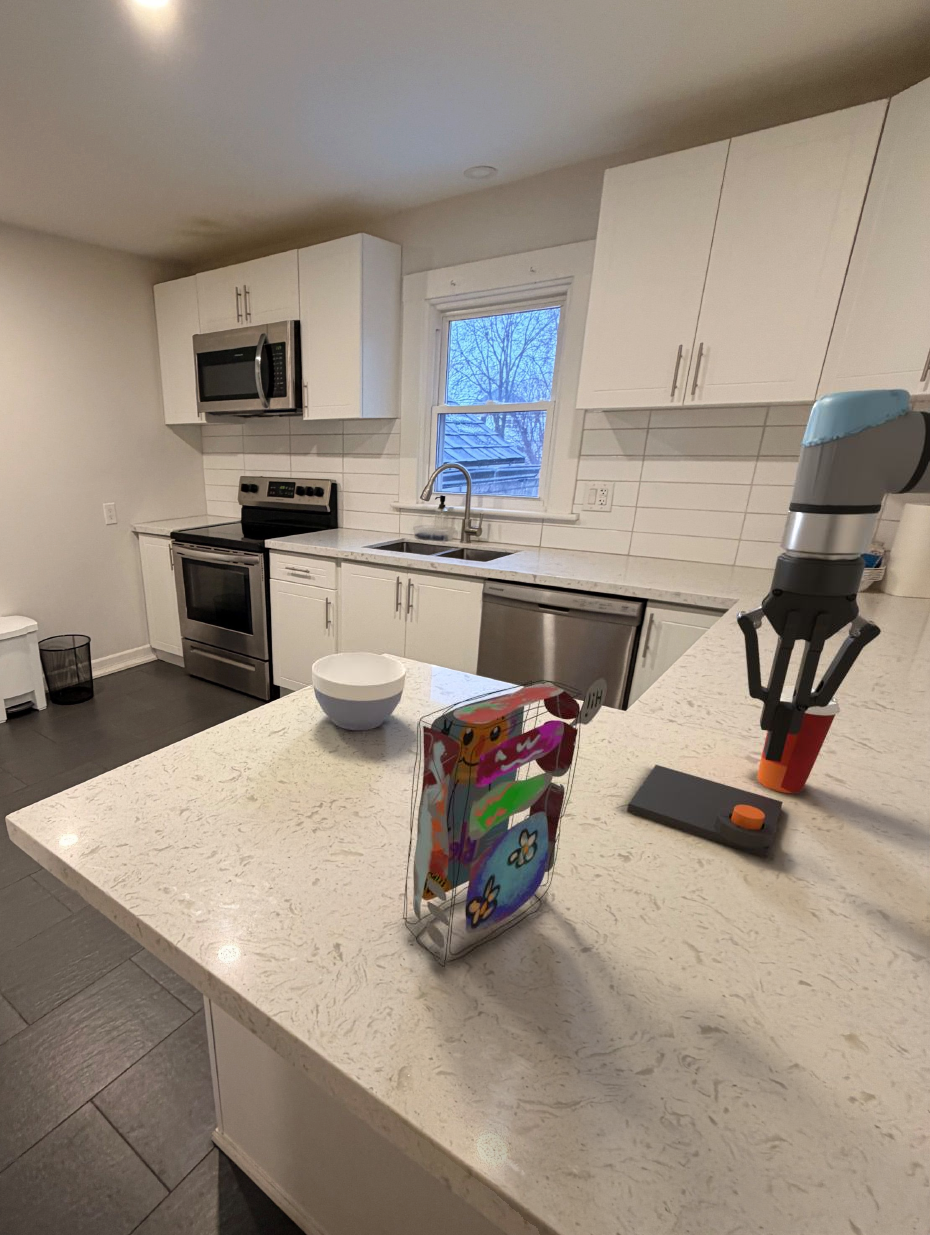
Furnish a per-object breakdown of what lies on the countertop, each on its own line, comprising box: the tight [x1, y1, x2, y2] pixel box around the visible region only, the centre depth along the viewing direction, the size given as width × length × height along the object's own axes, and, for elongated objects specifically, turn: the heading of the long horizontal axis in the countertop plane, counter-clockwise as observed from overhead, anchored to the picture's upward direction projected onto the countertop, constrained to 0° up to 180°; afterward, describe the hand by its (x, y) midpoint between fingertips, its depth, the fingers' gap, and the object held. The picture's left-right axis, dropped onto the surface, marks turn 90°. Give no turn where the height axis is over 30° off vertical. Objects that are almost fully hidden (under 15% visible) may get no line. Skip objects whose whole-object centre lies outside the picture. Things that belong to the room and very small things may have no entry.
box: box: [402, 677, 608, 968], centre depth 65 cm, size 25×6×24 cm, turn 126°
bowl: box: [311, 652, 407, 731], centre depth 110 cm, size 16×16×10 cm
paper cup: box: [756, 685, 841, 794], centre depth 90 cm, size 8×8×14 cm
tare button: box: [731, 805, 765, 830], centre depth 79 cm, size 3×3×2 cm
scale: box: [626, 764, 783, 859], centre depth 85 cm, size 16×15×3 cm
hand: (772, 756), depth 75 cm, fingers closed
